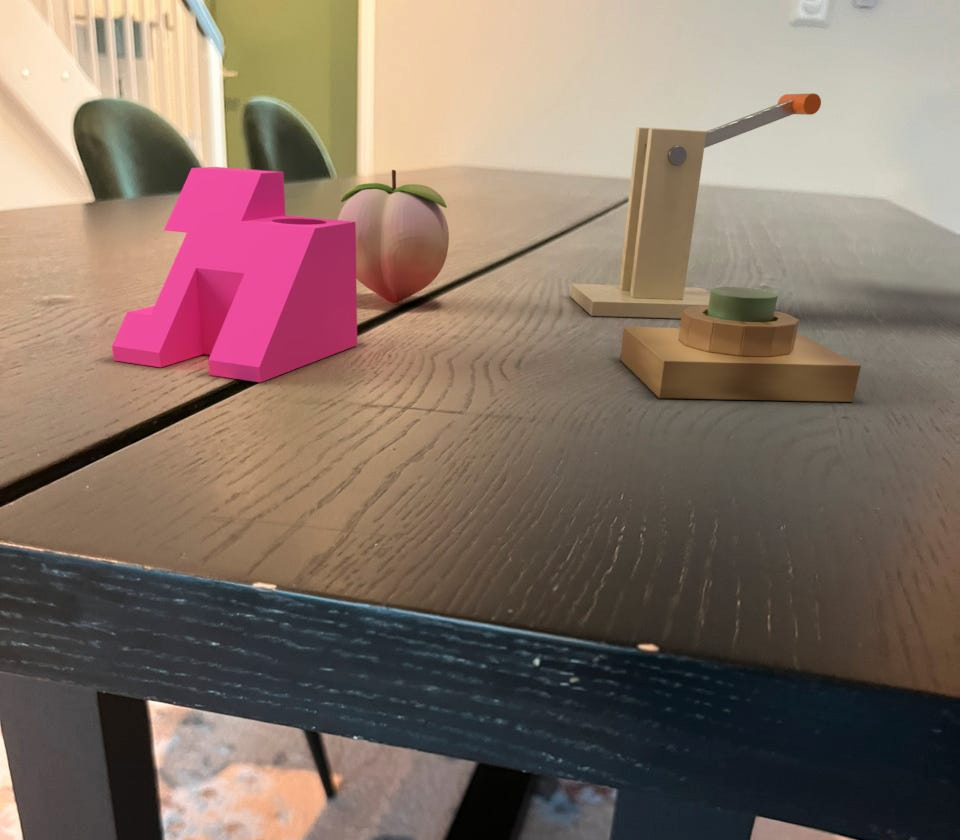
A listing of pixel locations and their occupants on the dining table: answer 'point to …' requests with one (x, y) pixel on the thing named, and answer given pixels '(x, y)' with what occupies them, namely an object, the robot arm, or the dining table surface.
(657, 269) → the bracket
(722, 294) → the button
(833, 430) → the dining table surface
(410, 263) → the decorative fruit
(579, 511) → the dining table surface
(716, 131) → the lever
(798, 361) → the button block
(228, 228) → the bracket
